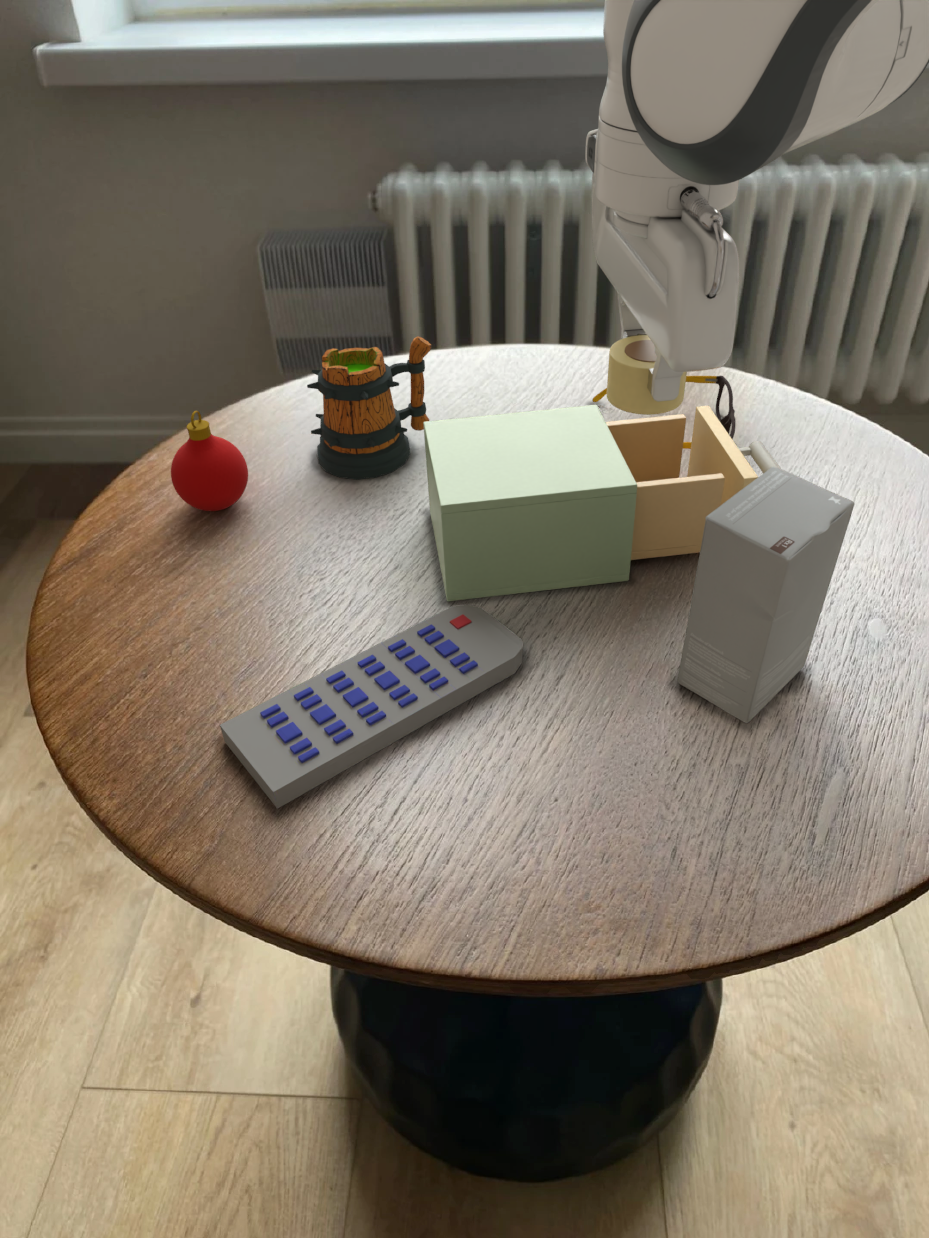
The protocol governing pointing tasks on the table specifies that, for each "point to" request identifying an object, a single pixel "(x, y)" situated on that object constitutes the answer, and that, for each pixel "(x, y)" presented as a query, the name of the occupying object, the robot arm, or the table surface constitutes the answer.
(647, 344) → the tape
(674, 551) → the drawer
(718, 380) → the eyeglasses
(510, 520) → the cabinet
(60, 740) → the table surface
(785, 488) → the cosmetic box
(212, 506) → the christmas ornament
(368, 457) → the mug
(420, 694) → the remote control
